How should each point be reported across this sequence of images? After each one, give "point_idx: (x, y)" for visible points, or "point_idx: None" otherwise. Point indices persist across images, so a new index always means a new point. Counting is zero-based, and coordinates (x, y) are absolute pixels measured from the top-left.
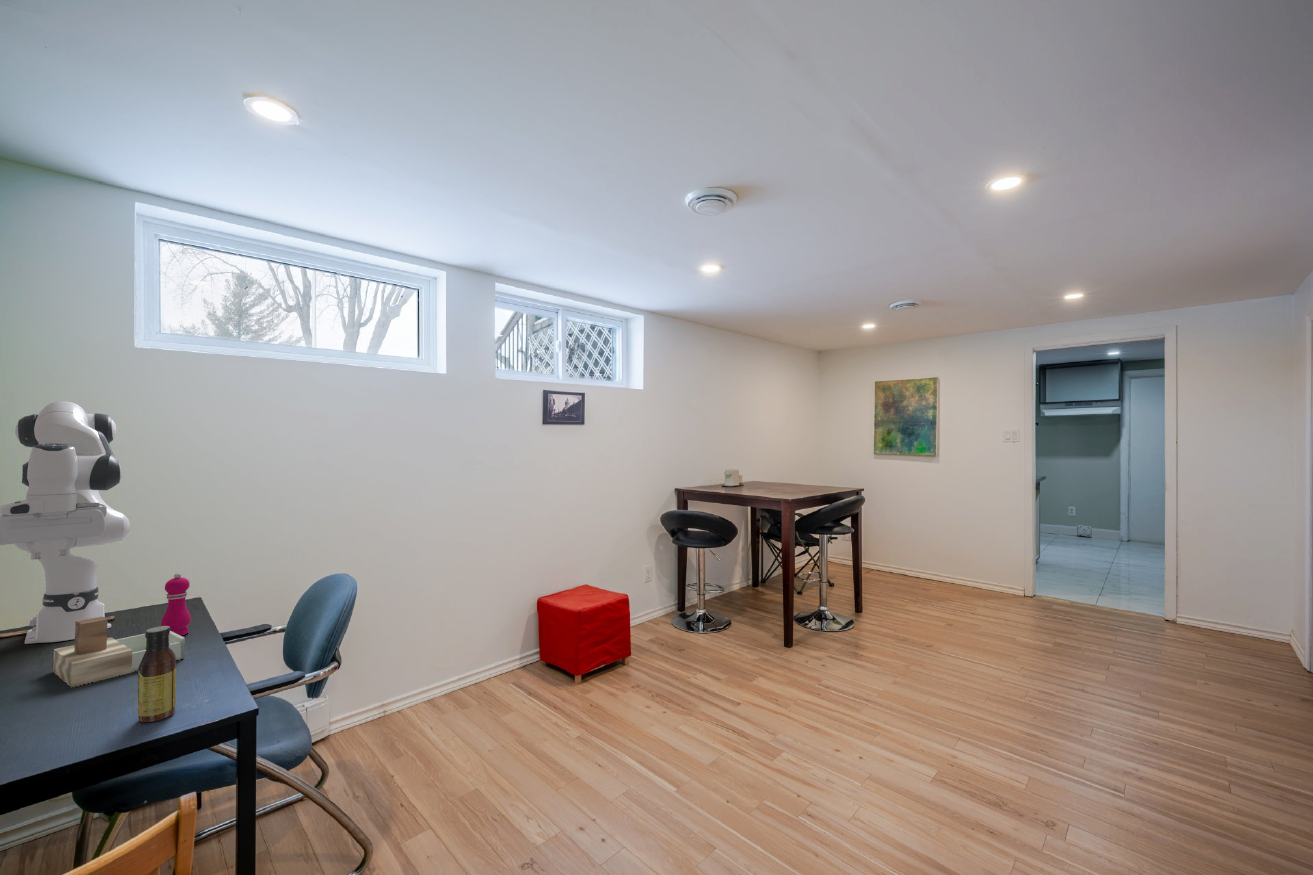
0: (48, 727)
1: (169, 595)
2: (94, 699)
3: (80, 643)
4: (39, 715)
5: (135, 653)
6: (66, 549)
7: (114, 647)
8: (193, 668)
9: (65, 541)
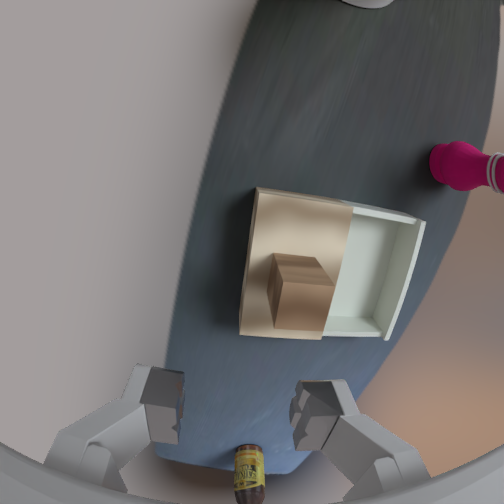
0: (185, 408)
1: (493, 178)
2: (237, 377)
3: (269, 303)
4: (186, 374)
5: (323, 335)
6: (330, 448)
7: None
8: (350, 367)
9: (369, 474)
